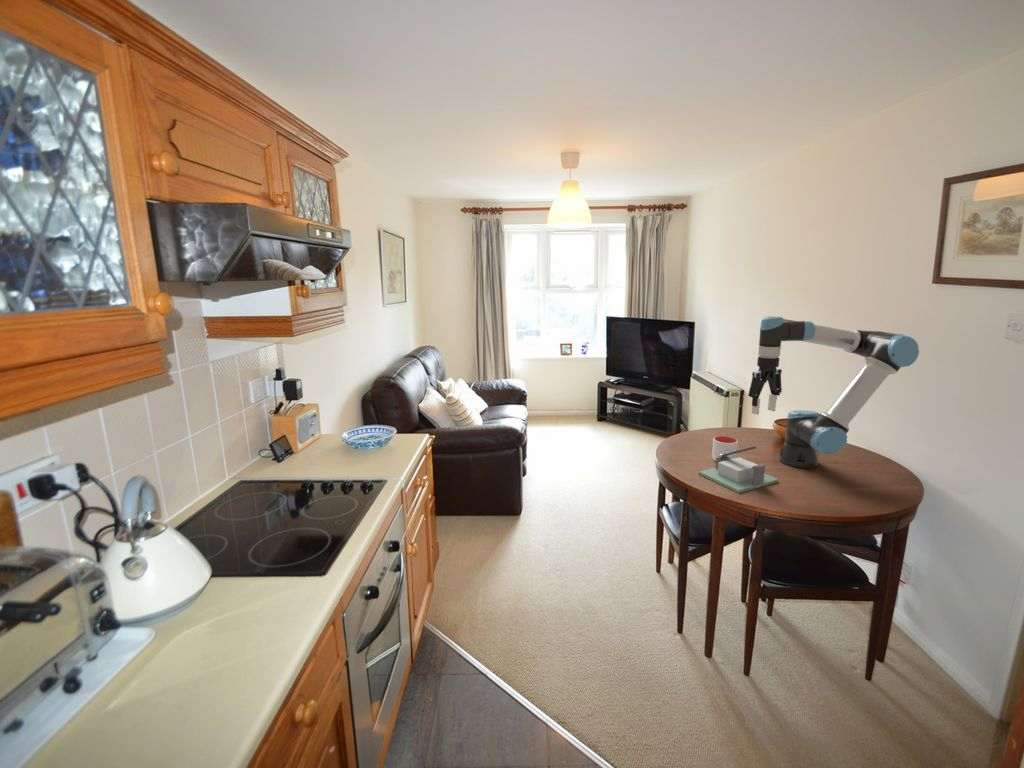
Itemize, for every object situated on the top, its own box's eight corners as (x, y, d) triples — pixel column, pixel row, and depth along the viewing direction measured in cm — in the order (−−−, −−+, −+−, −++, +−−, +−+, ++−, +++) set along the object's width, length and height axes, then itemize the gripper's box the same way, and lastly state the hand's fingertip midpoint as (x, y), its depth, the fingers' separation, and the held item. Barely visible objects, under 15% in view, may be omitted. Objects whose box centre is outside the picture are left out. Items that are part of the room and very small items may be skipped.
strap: (726, 456, 205) (725, 453, 205) (757, 448, 190) (756, 445, 190) (718, 458, 203) (717, 455, 203) (749, 450, 188) (748, 447, 189)
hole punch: (736, 464, 211) (738, 446, 209) (778, 481, 194) (780, 461, 192) (698, 474, 202) (700, 455, 201) (738, 493, 185) (740, 472, 183)
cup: (737, 466, 210) (739, 444, 208) (712, 463, 213) (714, 442, 211) (734, 457, 219) (736, 436, 217) (711, 455, 222) (712, 435, 220)
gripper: (778, 352, 196) (773, 406, 201) (740, 357, 188) (736, 413, 193) (796, 355, 190) (790, 410, 195) (757, 360, 181) (752, 418, 186)
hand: (763, 412), depth 194 cm, fingers open, 9 cm apart
